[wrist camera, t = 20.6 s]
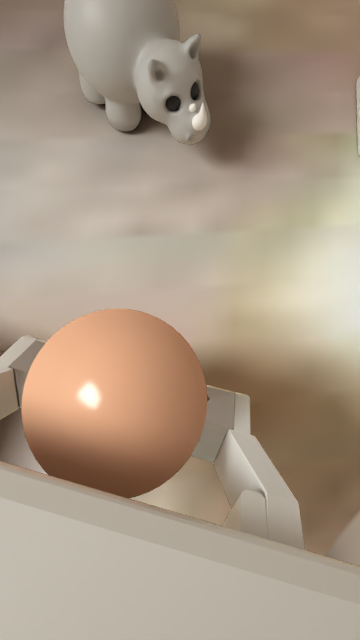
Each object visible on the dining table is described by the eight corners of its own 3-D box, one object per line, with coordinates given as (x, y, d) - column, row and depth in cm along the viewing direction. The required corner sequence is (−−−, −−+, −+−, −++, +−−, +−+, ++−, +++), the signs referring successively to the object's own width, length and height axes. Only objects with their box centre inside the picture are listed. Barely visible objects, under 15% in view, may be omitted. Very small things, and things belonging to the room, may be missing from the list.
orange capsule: (113, 334, 17) (57, 289, 9) (203, 357, 17) (226, 333, 9) (84, 427, 16) (-7, 469, 8) (179, 454, 16) (180, 524, 8)
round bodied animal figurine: (158, 202, 23) (145, 96, 15) (71, 95, 25) (17, -51, 17) (235, 152, 24) (264, 25, 15) (145, 52, 26) (128, -106, 18)
